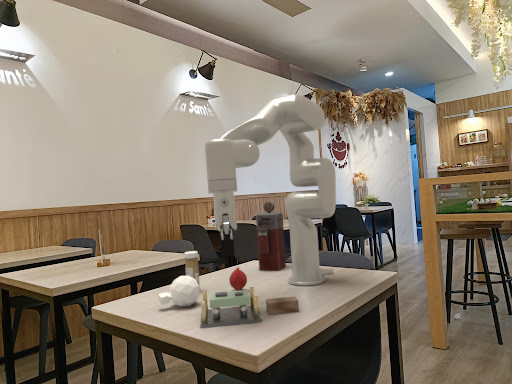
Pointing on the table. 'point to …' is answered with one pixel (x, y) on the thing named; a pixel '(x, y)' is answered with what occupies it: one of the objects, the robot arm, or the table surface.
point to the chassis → (230, 313)
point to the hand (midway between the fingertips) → (227, 252)
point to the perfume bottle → (181, 292)
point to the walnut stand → (282, 305)
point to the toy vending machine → (270, 239)
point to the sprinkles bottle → (192, 265)
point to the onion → (238, 279)
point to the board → (229, 299)
